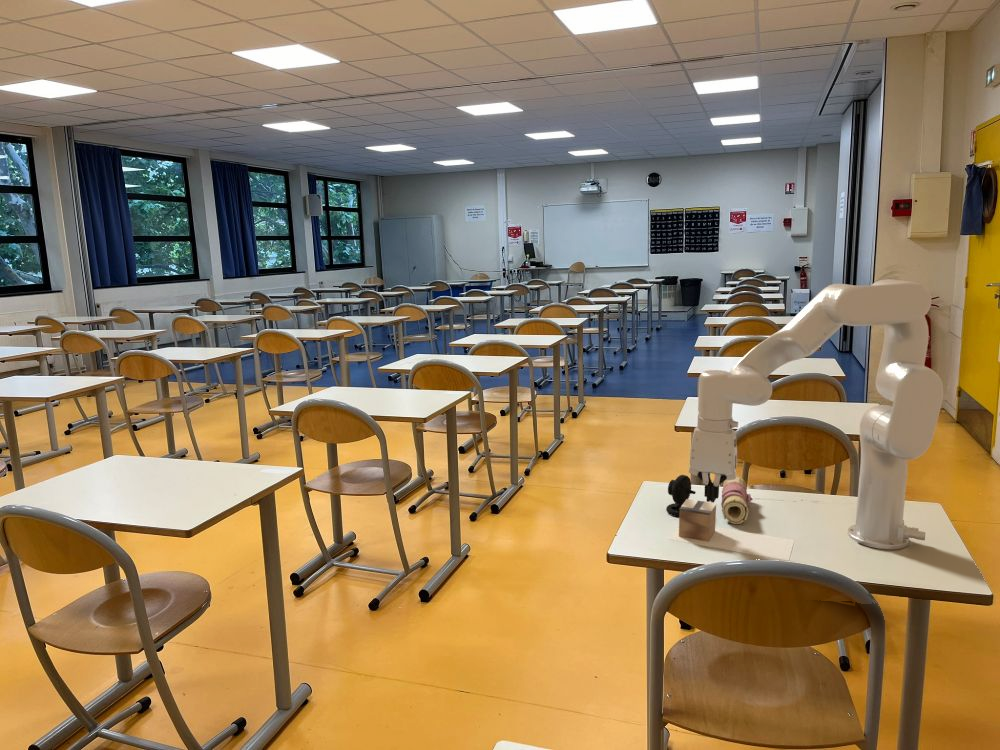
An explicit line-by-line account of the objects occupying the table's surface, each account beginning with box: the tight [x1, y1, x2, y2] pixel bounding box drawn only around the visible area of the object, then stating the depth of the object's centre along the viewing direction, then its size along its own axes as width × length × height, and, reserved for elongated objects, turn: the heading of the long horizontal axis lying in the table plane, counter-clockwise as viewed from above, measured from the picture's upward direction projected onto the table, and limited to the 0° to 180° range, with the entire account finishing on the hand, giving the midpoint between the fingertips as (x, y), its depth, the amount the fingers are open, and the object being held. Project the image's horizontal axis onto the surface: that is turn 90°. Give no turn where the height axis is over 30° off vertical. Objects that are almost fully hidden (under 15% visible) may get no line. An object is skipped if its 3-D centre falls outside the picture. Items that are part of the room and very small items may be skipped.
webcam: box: [665, 474, 697, 518], centre depth 182 cm, size 8×8×10 cm
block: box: [678, 498, 717, 542], centre depth 167 cm, size 7×7×7 cm
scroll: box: [720, 476, 754, 525], centre depth 182 cm, size 8×8×20 cm
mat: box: [669, 526, 795, 561], centre depth 164 cm, size 26×12×1 cm, turn 62°
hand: (711, 500), depth 165 cm, fingers closed
